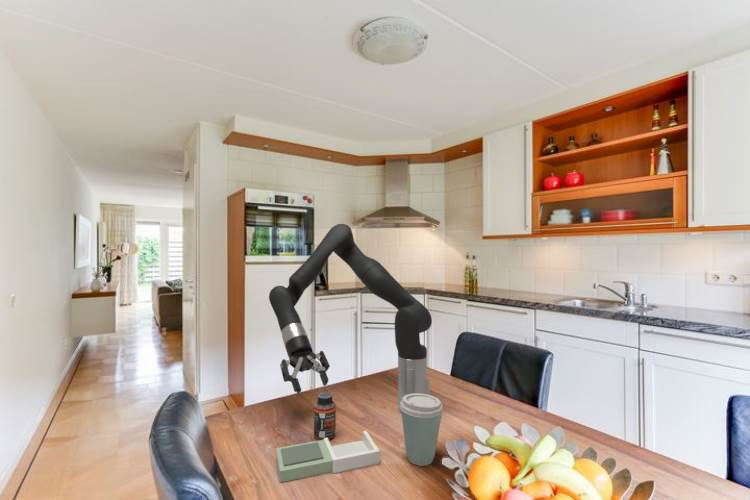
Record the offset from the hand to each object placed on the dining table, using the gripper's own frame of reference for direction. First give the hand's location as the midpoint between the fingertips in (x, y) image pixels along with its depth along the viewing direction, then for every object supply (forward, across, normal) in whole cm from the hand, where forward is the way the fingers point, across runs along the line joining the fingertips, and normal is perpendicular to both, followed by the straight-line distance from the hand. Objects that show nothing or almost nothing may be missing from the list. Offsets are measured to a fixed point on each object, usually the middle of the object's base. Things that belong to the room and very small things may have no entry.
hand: (312, 388), depth 108 cm
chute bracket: (+22, 0, +8) cm, 23 cm away
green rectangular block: (+19, +11, +6) cm, 23 cm away
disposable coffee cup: (+30, -14, +15) cm, 36 cm away
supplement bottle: (+14, +1, -2) cm, 14 cm away
